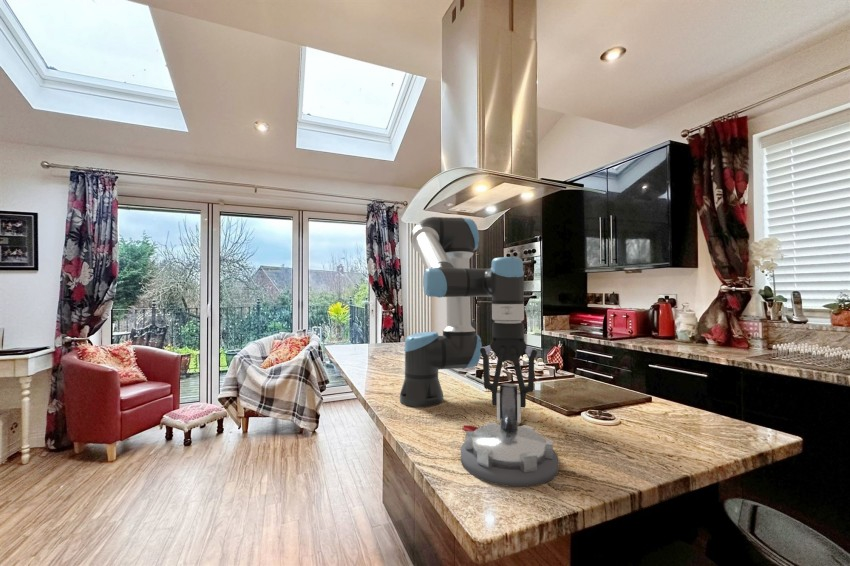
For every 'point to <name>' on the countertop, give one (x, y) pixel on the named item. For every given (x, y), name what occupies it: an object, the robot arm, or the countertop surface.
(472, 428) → the cayenne pepper
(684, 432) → the countertop surface
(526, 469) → the tabbed dome lid
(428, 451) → the countertop surface
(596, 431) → the countertop surface
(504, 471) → the base plate
